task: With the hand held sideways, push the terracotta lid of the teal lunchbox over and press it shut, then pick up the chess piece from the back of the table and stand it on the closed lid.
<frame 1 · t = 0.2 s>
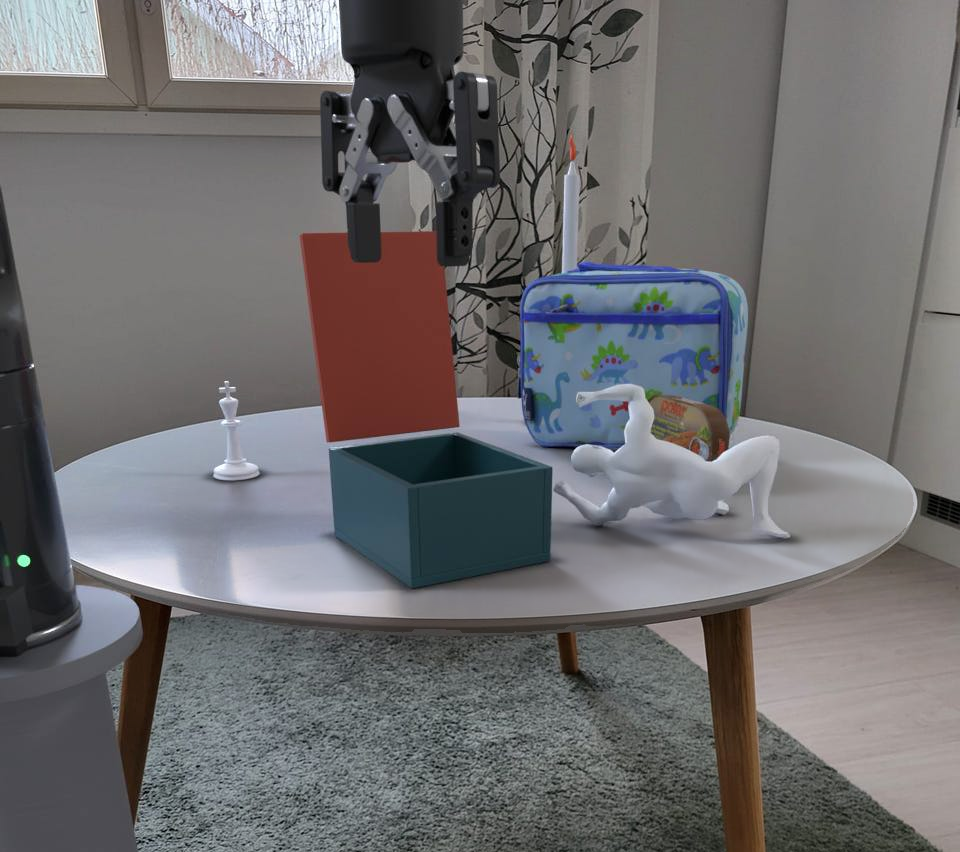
hand: (408, 264, 64), 23 cm above the table, tool pointing down, fingers open, 8 cm apart
person figurine: (668, 532, 86), on the table
tin: (678, 480, 103), on the table
lunch box: (623, 448, 117), on the table
chess piece: (236, 476, 106), on the table
lunchbox lid: (384, 336, 83), point 16 cm above the table, hinge at 100.0°
candlestick: (564, 424, 131), on the table
lunchbox: (438, 547, 82), on the table
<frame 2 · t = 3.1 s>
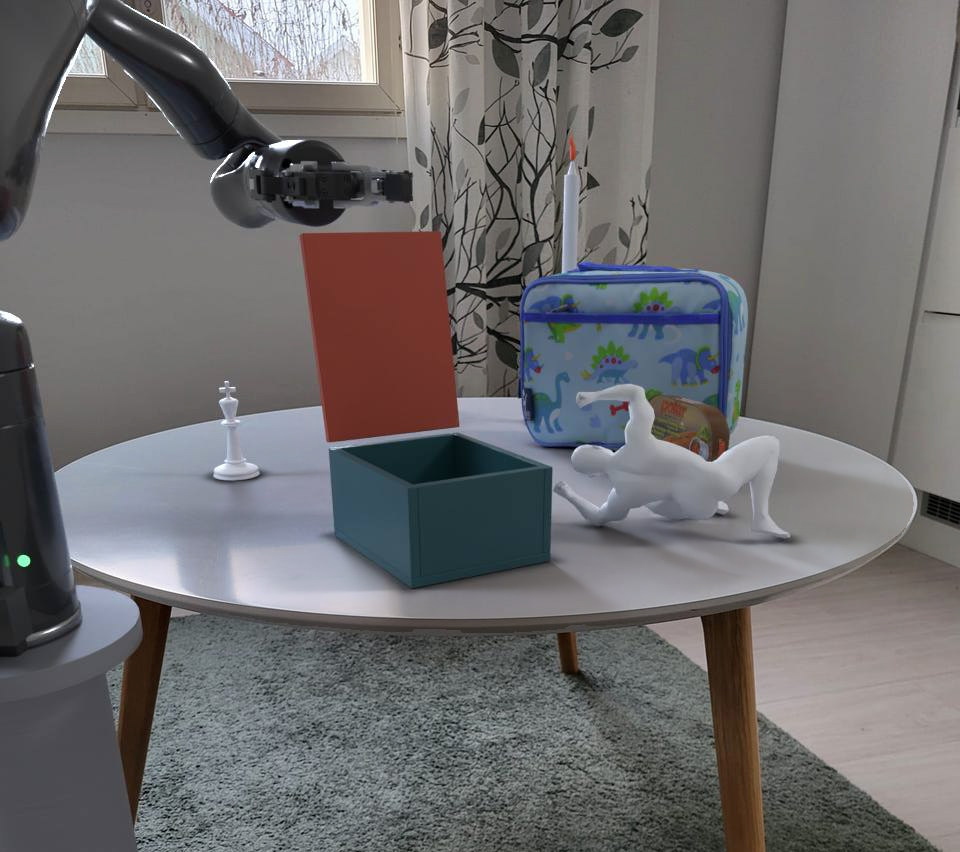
hand: (359, 187, 82), 28 cm above the table, tool horizontal, fingers open, 8 cm apart
nothing on the table moved.
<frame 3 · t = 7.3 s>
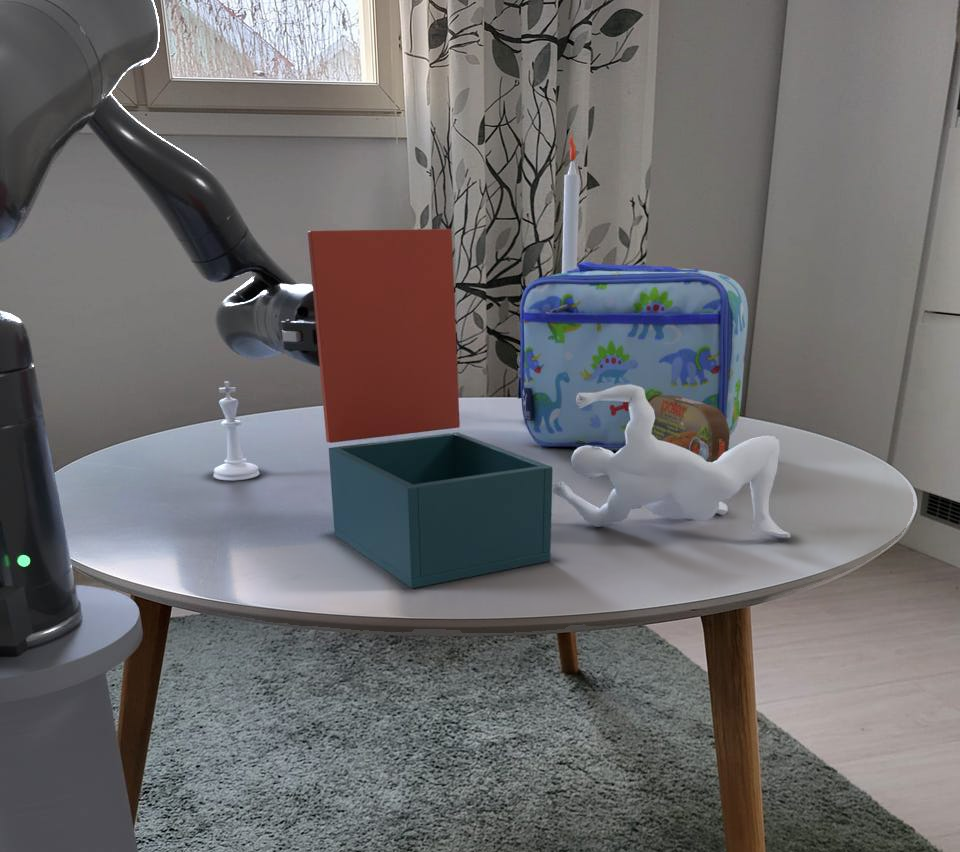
hand: (386, 340, 82), 16 cm above the table, tool horizontal, fingers closed
lunchbox lid: (388, 335, 82), point 17 cm above the table, hinge at 93.1°, touching gripper
everything else where it was.
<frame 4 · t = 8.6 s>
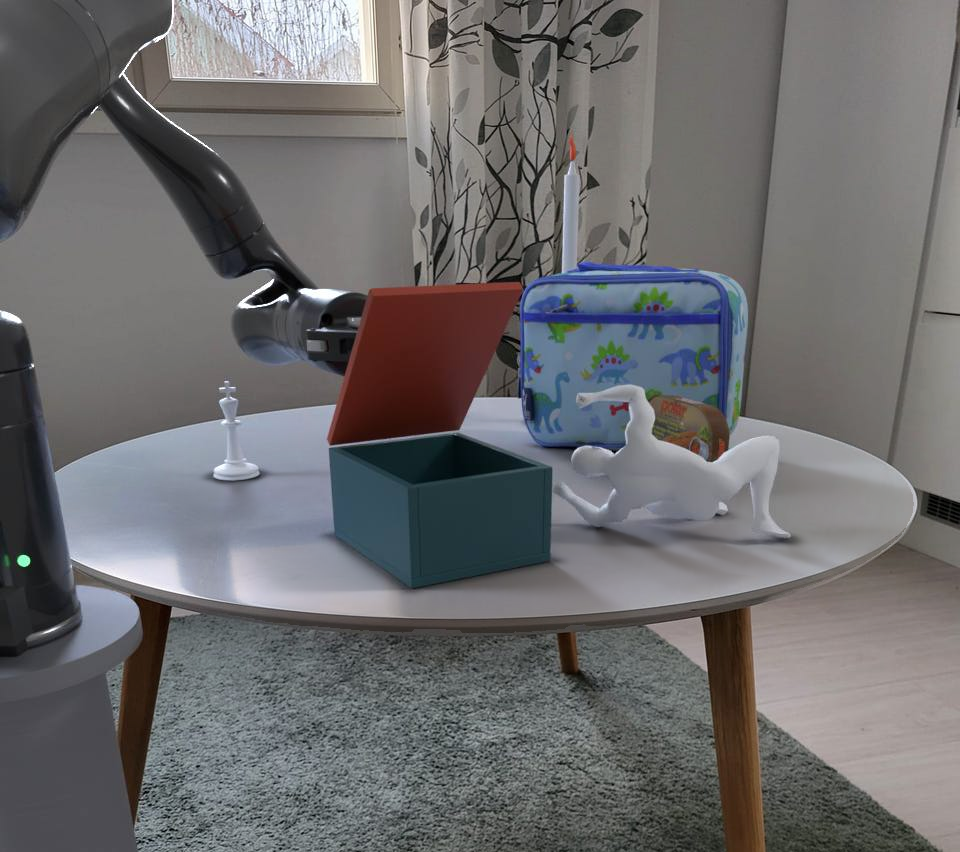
hand: (418, 351, 78), 16 cm above the table, tool horizontal, fingers closed
lunchbox lid: (419, 367, 78), point 15 cm above the table, hinge at 49.8°
everything else where it was.
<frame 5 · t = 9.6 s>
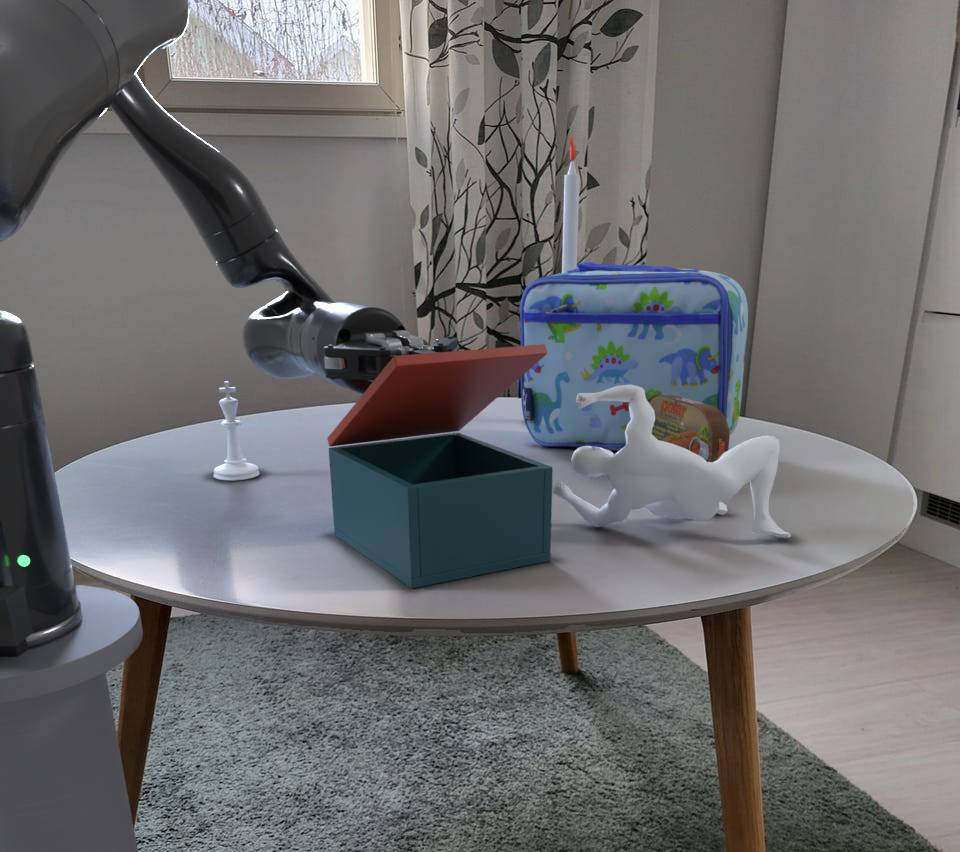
hand: (440, 369, 75), 15 cm above the table, tool horizontal, fingers closed
lunchbox lid: (430, 398, 77), point 12 cm above the table, hinge at 30.1°, touching gripper
everything else where it was.
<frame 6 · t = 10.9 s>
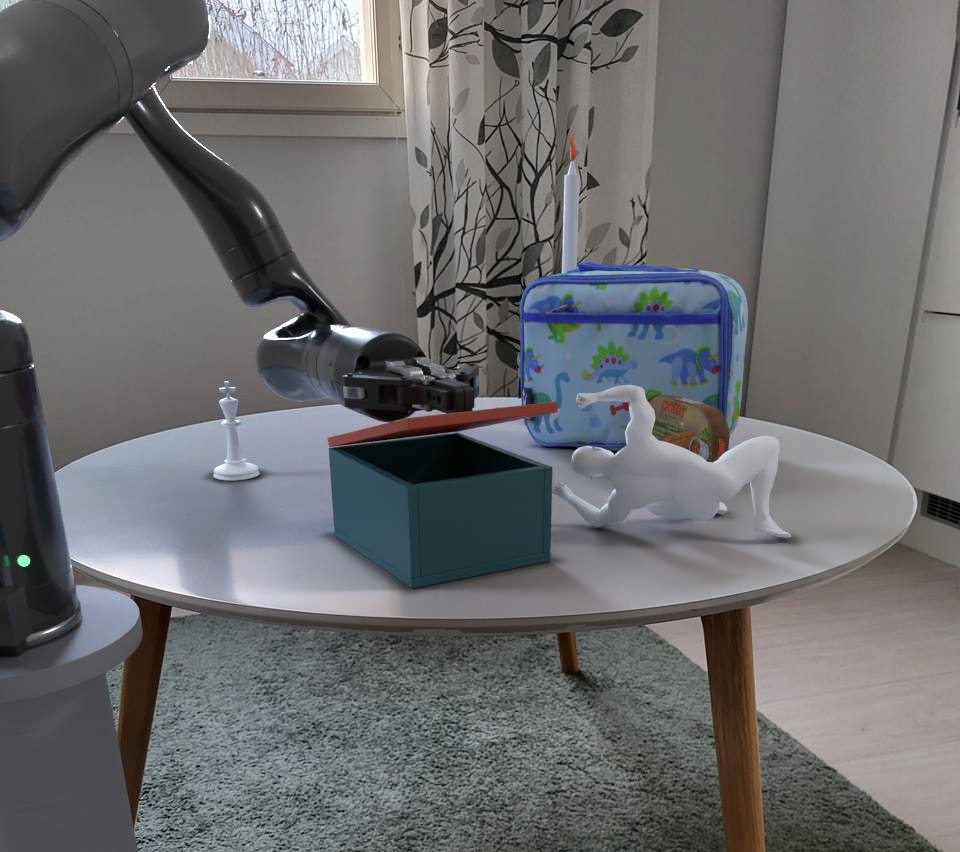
hand: (464, 401, 73), 13 cm above the table, tool horizontal, fingers closed
lunchbox lid: (436, 425, 78), point 10 cm above the table, hinge at 14.9°, touching gripper
everything else where it was.
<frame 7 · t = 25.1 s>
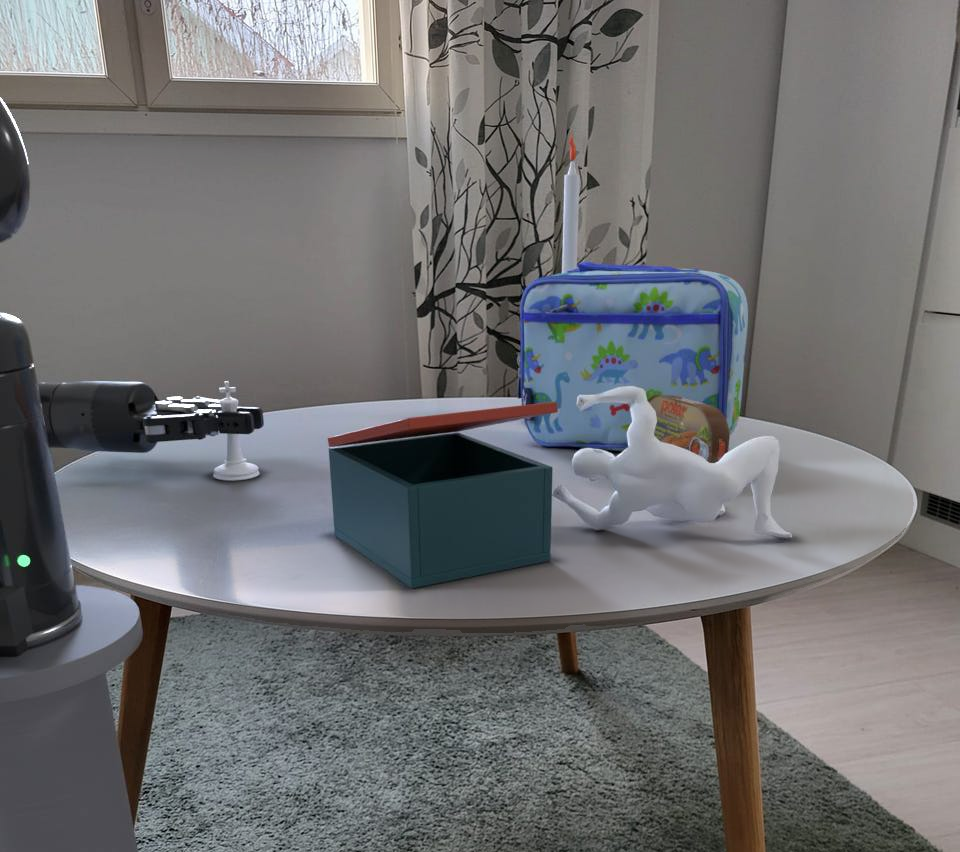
hand: (256, 420, 103), 6 cm above the table, tool horizontal, fingers closed on chess piece
chess piece: (236, 476, 106), on the table, touching gripper
lunchbox lid: (436, 425, 78), point 10 cm above the table, hinge at 14.9°
everything else where it was.
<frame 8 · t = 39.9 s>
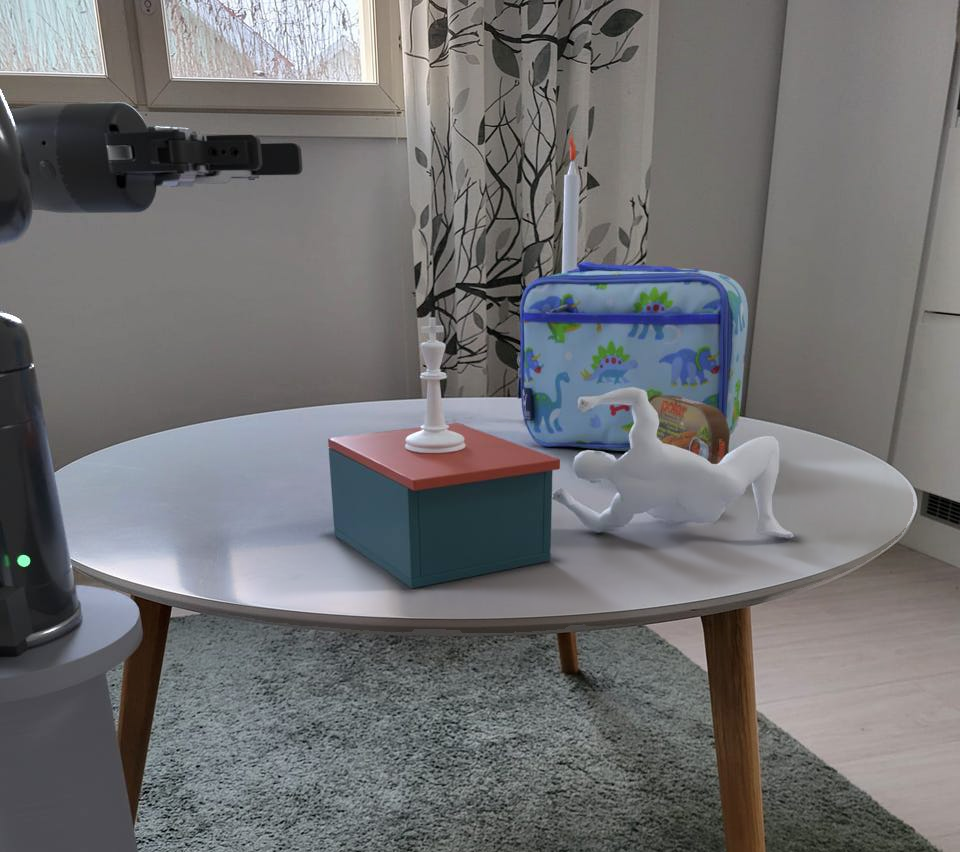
hand: (281, 155, 72), 30 cm above the table, tool horizontal, fingers open, 8 cm apart
chess piece: (435, 449, 78), point 8 cm above the table, touching lunchbox lid
lunchbox lid: (438, 452, 78), point 8 cm above the table, hinge at -0.2°, touching chess piece, lunchbox
at the end: lunchbox lid at +0° (first picture: +100°); chess piece inside the target area on the lunchbox (0.1 cm from its centre), point 8.4 cm above the lunchbox's base; chess piece tilted 0° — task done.
